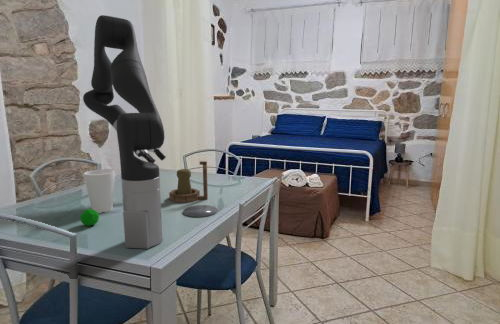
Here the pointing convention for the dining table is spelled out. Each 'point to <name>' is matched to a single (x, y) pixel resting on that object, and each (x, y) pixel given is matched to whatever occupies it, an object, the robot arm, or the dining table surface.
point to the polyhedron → (89, 217)
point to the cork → (184, 182)
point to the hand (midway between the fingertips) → (159, 160)
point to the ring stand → (195, 192)
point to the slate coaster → (200, 211)
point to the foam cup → (100, 189)
